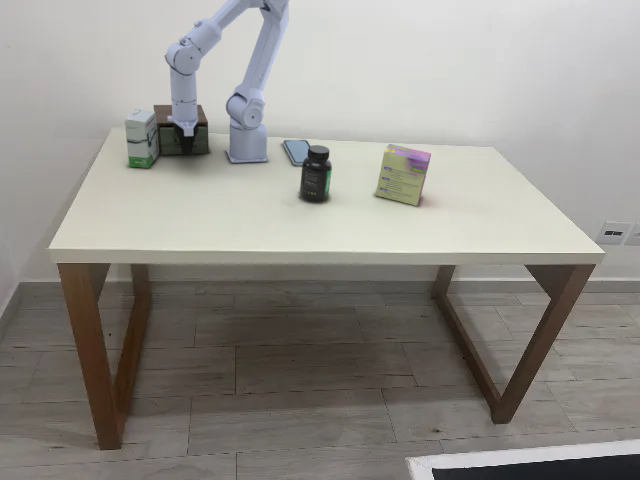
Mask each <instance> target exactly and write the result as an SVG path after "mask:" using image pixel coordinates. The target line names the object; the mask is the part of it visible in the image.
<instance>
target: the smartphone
mask: <svg viewBox="0 0 640 480" xmlns="http://www.w3.org/2000/svg"><path fill="white" fill-rule="evenodd" d="M282 144H283V146H284V149H285V151H286V152H287V154H288V157H289V158H290V160H291V162H292V165H294V166H297V167H298V166H299V167H300V166H301V167H302V163H303V161H304V159H305V158H307V157H308V156H307V153H308V148H309V147H310V146H311V144H310V142H309V141H308V140H307V139H284V140H283V141H282Z"/></svg>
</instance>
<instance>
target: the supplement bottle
mask: <svg viewBox="0 0 640 480" xmlns="http://www.w3.org/2000/svg"><path fill="white" fill-rule="evenodd" d="M307 156H308V157H307V158H305V159H304V161H303V163H302V166H301V173H300V174H301V175H300V185H299V196H300V197H301V199H303V200H304V201H306V202H309V203H314V204H317V203H318V204H319V203H323V202H325V201H327V200H328V198H329V196H330V195H329V194H330V188H331V178H332V170H333V163H332V161H331V159H330V148H329V147H328V146H325V145H321V144H313V145H310V147H309V148H308V153H307Z"/></svg>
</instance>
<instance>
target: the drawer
mask: <svg viewBox="0 0 640 480" xmlns="http://www.w3.org/2000/svg"><path fill="white" fill-rule="evenodd" d="M197 127H198V133H197V134H196V136H195V139H194V143H193V149H192V153H197V154H208V153H207V128H206V127H203V125H197ZM160 139H161V152H162V155H161V156H164V155H163V154H171V155H184V154H183V153H182V150H181V146H180V142H179V138H178V136H177V134H176V133H175V131H174V127H173V126H161V127H160Z"/></svg>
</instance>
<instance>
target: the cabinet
mask: <svg viewBox="0 0 640 480" xmlns="http://www.w3.org/2000/svg"><path fill="white" fill-rule="evenodd" d="M153 111H154V112H155V115H156V130H157V143H158V156H166V155H167V156H168V155H172V154H163V155H162V152H161V139H160V127H161V126H173V123H174V122H172V121H168V119H167V116H172V104H153ZM197 116H198V122H197V125H203V127H206V128H207V153H206V154H209V153H210V151H209V121H208V118H207V116H206V114H205V112H204V108H203V106H202V104H197ZM192 154H198V153H191V154H190V155H192Z"/></svg>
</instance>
